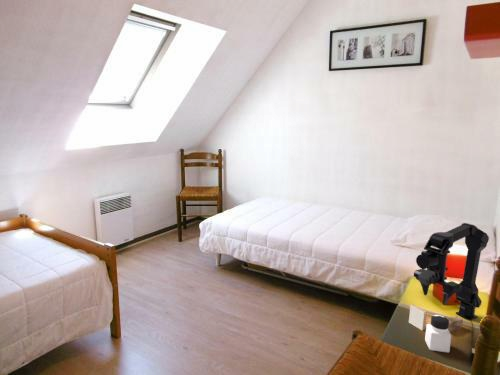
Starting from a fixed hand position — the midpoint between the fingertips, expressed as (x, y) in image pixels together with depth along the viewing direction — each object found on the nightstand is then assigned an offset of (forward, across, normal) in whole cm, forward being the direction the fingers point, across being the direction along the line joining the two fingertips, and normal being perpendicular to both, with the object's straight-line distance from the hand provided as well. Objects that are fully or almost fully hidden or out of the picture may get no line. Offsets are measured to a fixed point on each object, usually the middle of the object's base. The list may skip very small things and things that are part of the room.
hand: (434, 299), depth 153 cm
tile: (+13, -4, -5) cm, 14 cm away
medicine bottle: (+13, +10, -10) cm, 19 cm away
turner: (+13, +3, +4) cm, 14 cm away
